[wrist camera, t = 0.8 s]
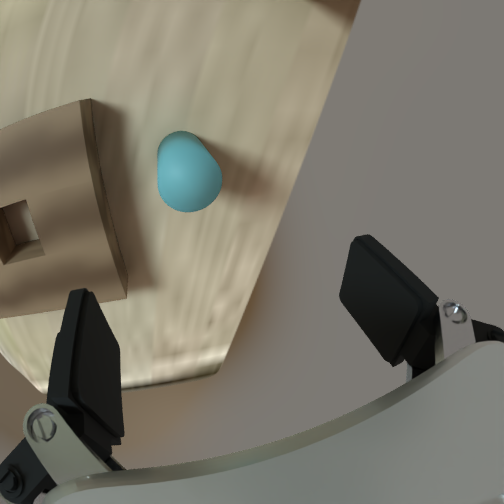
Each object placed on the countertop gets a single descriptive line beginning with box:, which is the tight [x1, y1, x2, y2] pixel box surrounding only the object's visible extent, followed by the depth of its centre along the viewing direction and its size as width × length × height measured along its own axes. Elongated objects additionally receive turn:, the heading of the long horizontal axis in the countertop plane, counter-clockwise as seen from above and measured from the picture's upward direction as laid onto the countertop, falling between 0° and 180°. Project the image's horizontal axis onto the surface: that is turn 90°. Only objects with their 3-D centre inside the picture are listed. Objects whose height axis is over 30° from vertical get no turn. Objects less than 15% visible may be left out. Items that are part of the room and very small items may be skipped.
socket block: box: [0, 98, 128, 319], centre depth 21 cm, size 20×20×4 cm
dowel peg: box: [158, 131, 222, 212], centre depth 22 cm, size 4×4×9 cm
